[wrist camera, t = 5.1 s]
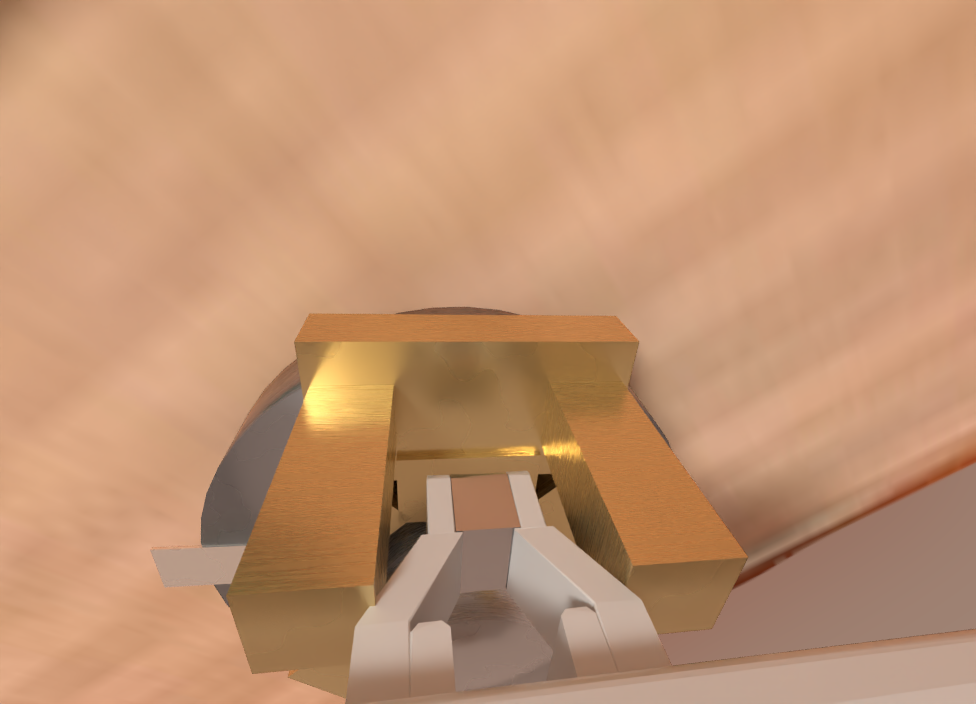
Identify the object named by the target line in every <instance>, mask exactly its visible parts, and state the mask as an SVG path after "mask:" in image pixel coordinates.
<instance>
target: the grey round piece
mask: <svg viewBox="0 0 976 704" xmlns="http://www.w3.org/2000/svg"><path fill="white" fill-rule="evenodd" d="M396 314H423V315H518V314H514V313H509V312H505V311H501V310H492V309H482V308H471V307H447V308H428V309H422V310H415V311H408V312H401V313H396ZM627 389H628V390H629V392H630V393H631V394H632V396H633V397H634V399H635V400H636V401H637V403H638V404H639V406H640V407H641V408H642V410H643V411H644V413H645V414H646V415H647V417H648V418H649V420H650V421H651V422H652V424H653V425H654V427H655V428H656V429H657V431H658V432H659V434H660V435H661V436H662V438H663V439H664V440H665V442H666V443H667V445H668V446H669V447H670V445H669V443H668V440H667V438H666V437H665V435H664V434H663V432H662V431H661V430H660V428H659V427H658V425H657V424H656V422H655V421H654V419H653V418H652V417H651V415H650V414H649V413H648V411H647V410H646V408H645V407H644V406H643V404H642V403H641V402H640V400H639V399H638V398H637V396H636V395H635V393H634V392H633V391H632V389H631V388H630V387H629V385H628V388H627ZM303 402H304V401H303V394H302V388H301V382H300V375H299V369H298V362H297V359H296V360H295V361H294V362H293V363H291V364H290V365H289V366H287V367H286V368H285V369H284V370H283V371H282V372H281V373H280V374H279V375H278V376H277V377H276V378H275V379H274V380H273V381H272V382H271V383H270V384H269V385H268V387H267V388H266V389H265V390H264V391H263V393H262V394H261V396H260V397H259V399H258V400H257V401H256V403H255V404H254V406H253V407H252V409H251V410H250V412H249V414H248V415H247V417H246V419H245V421H244V422H243V424H242V426H241V428H240V430H239V431H238V433H237V435H236V437H235V439H234V440H233V442H232V444H231V446H230V447H229V449H228V451H227V453H226V455H225V456H224V458H223V460H222V462H221V464H220V465H219V467H218V469H217V471H216V474H215V476H214V478H213V480H212V483H211V485H210V487H209V489H208V492H207V494H206V499H205V503H204V508H203V512H202V517H201V545H197V546H174V547H152V548H151V550H150V551H151V553H152V556H153V558H154V561H155V564H156V566H157V569H158V571H159V574H160V576H161V579H162V582H163V584H164V587H179V586H197V585H214V586H215V587H216V589H217V590H218V592H219V593H220V595H221V596H222V598H223V599H224V601H225V603H226V604H227V605H228V606H229V603H228V600H227V597H226V595H227V593H228V590H229V588H230V585H231V583H232V580H233V578H234V575H235V573H236V570H237V568H238V565H239V563H240V560H241V557H242V555H243V552H244V550H245V547H246V545H247V542H248V540H249V537H250V535H251V532H252V530H253V527H254V525H255V522H256V520H257V517H258V515H259V512H260V510H261V507H262V505H263V502H264V500H265V497H266V495H267V492H268V490H269V487H270V485H271V482H272V480H273V477H274V474H275V472H276V469H277V467H278V464H279V462H280V459H281V457H282V454H283V452H284V449H285V447H286V444H287V442H288V439H289V437H290V434H291V432H292V429H293V427H294V424H295V422H296V419H297V417H298V414H299V412H300V409H301V407H302V404H303ZM670 449H671V447H670ZM671 450H672V449H671ZM425 534H426V522H410V523H405V524H404V525H403V526H401V527H400V528H399V529H397V530H396V531H395V532H393V533H392V534H391V535H390V537H389V550H388V563H387V577H386V583H387V582H388V580H389V579H390V577H391V576H392V575H393V573H394V572H395V570H396V569H397V568H398V566H399V565H400V563H401V562H402V561H403V559H404V558H405V557H406V555H407V554H408V552H409V551H410V550H411V548H412V547H413V545H414V544H415V543H416V541H417V540H418V539H419V537H420V536H421V535H425ZM229 607H230V606H229ZM447 625H449V626H450V627H451V638H452V650H453V663H454V676H455V689H456V692H460V691H468V690H477V689H485V688H493V687H501V686H509V685H518V684H526V683H534V682H542V681H546V680H547V675H548V671H549V666H550V662H551V658H552V653H553V650H552V649H551V647H550V646H549V645H548V644H547V642H546V641H545V640H544V638H543V637H542V636H541V635H540V633H539V632H538V631H537V630H536V628H535V627H534V626H533V625H532V623H531V622H530V621H529V619H528V618H527V617H526V616H525V614H524V613H523V612H522V611H521V609H520V608H519V607H518V606H517V604H516V603H515V602H514V600H513V599H512V598H511V597H510V595H509V594H508V593H507V592H506V589H501V590H484V591H475V592H466V593H460V597H459V599H458V601H457V603H456V605H455V607H454V609H453V611H452V613H451V615H450V618H449V620H448V622H447Z"/></svg>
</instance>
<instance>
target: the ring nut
mask: <svg viewBox="0 0 976 704" xmlns="http://www.w3.org/2000/svg"><path fill="white" fill-rule="evenodd" d="M294 343H295V349H296V356H297V362H298V369H299V375H300V382H301V388H302V394H303V401H304V402H303V404H302V407H301V409H300V412H299V414H298V417H297V419H296V422H295V424H294V427H293V429H292V432H291V434H290V437H289V439H288V442H287V444H286V447H285V449H284V452H283V454H282V457H281V459H280V462H279V464H278V467H277V469H276V472H275V474H274V477H273V480H272V482H271V485H270V487H269V490H268V492H267V495H266V497H265V500H264V502H263V505H262V507H261V510H260V512H259V515H258V517H257V520H256V522H255V525H254V527H253V530H252V532H251V535H250V537H249V540H248V542H247V545H246V547H245V550H244V552H243V555H242V557H241V560H240V563H239V565H238V568H237V570H236V573H235V575H234V578H233V580H232V583H231V585H230V588H229V590H228V593H227V595H226V597H227V600H228V603H229V606H230V609H231V612H232V615H233V618H234V621H235V624H236V627H237V630H238V633H239V636H240V639H241V642H242V645H243V648H244V651H245V654H246V657H247V660H248V663H249V666H250V669H251V672H252V674H257V673H267V672H277V671H288V670H289V674H288V678H291V679H293V680H296V681H299V682H302V683H304V684H307V685H310V686H313V687H316V688H318V689H321V690H324V691H327V692H329V693H332V694H335V695H338V696H340V697H343V698H346V694H347V686H348V679H349V671H350V663H351V655H352V647H353V639H354V631H355V626H356V624H357V623H358V622H359V620H360V619H361V618H362V616H363V615H364V613H365V612H366V611H367V609H368V608H369V607H370V606H375V604H376V597H377V595H378V594H379V593H380V591H381V590H382V588H383V587H384V586H385V584H386V577H387V563H388V550H389V537H390V535H391V534H392V533H393V532H395V531H396V530H397V529H399V528H400V527H401V526H403V525H404V524H405V523H410V522H426V485H427V475H449V476H450V474H485V473H503V472H505V473H506V472H515V471H528V472H529V473H530V475H531V479H532V482H533V485H534V488H535V491H536V494H537V497H538V500H539V503H540V506H541V509H542V513H543V516H544V519H545V522H546V525H547V526H554V527H555V528H556V529H558V530H559V531H560V532H561V533H562V534H564V535H565V536H566V537H567V538H568V539H570V540H571V541H572V542H573V543H574V544H576V545H577V546H578V547H579V548H580V549H582V550H583V551H584V552H585V553H586V554H587V555H589V556H590V557H591V558H592V559H593V560H595V561H596V562H597V563H598V564H599V565H601V566H602V567H603V568H604V569H605V570H607V571H608V572H609V573H610V574H611V575H613V576H614V577H615V578H616V579H617V580H618V581H620V582H621V583H622V584H623V585H624V586H626V587H627V588H628V589H629V590H630V591H632V592H633V593H634V594H635V595H636V596H638V597H639V598H640V599H641V600H642V602H643V604H644V606H645V608H646V610H647V613H648V615H649V617H650V619H651V621H652V623H653V625H654V628H655V630H656V632H657V634H666V633H676V632H685V631H697V630H706V629H712V628H713V626H714V624H715V622H716V620H717V618H718V616H719V614H720V612H721V610H722V608H723V606H724V604H725V602H726V600H727V598H728V596H729V594H730V592H731V590H732V588H733V586H734V584H735V582H736V580H737V578H738V577H739V575H740V573H741V571H742V569H743V567H744V565H745V563H746V561H747V559H748V556H747V555H746V553H745V552H744V551H743V549H742V548H741V546H740V545H739V544H738V542H737V541H736V539H735V538H734V537H733V535H732V534H731V533H730V531H729V530H728V528H727V527H726V526H725V524H724V523H723V521H722V520H721V519H720V517H719V516H718V514H717V513H716V512H715V510H714V509H713V507H712V506H711V505H710V503H709V502H708V500H707V499H706V498H705V496H704V495H703V493H702V492H701V491H700V489H699V488H698V486H697V485H696V484H695V482H694V481H693V480H692V478H691V477H690V475H689V474H688V473H687V471H686V470H685V468H684V467H683V466H682V464H681V463H680V461H679V460H678V459H677V457H676V456H675V454H674V453H673V452H672V450H671V449H670V447H669V446H668V445H667V443H666V442H665V440H664V439H663V438H662V436H661V435H660V434H659V432H658V431H657V429H656V428H655V427H654V425H653V424H652V422H651V421H650V420H649V418H648V417H647V415H646V414H645V413H644V411H643V410H642V408H641V407H640V406H639V404H638V403H637V401H636V400H635V399H634V397H633V396H632V394H631V393H630V392H629V390H628V389H627V388H628V384H629V380H630V376H631V372H632V368H633V364H634V361H635V357H636V353H637V349H638V345H639V341H638V340H637V339H636V338H635V336H634V335H633V334H632V333H631V332H630V331H629V330H628V329H627V328H626V327H625V325H624V324H623V323H622V322H621V321H620V320H619V319H618V318H617V317H616V316H546V315H423V314H309V315H308V317H307V319H306V321H305V323H304V325H303V327H302V328H301V330H300V332H299V334H298V336H297V338H296V340H295V341H294Z"/></svg>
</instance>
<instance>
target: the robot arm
mask: <svg viewBox="0 0 976 704" xmlns="http://www.w3.org/2000/svg"><path fill="white" fill-rule="evenodd" d="M501 589H506V592H507V593H508V594H509V595H510V597H511V598H512V599H513V600H514V602H515V603H516V604H517V606H518V607H519V608H520V609H521V611H522V612H523V613H524V614H525V616H526V617H527V618H528V619H529V621H530V622H531V623H532V625H533V626H534V627H535V628H536V630H537V631H538V632H539V633H540V635H541V636H542V637H543V638H544V640H545V641H546V642H547V644H548V645H549V646H550V647H551V649H552V650H553V653H552V658H551V662H550V666H549V671H548V675H547V680H546V681H542V682H534V683H526V684H518V685H509V686H501V687H493V688H485V689H477V690H468V691H460V692H456V689H455V676H454V663H453V650H452V638H451V627H450V626H449V625H447V622H448V620H449V618H450V615H451V613H452V611H453V609H454V607H455V605H456V603H457V601H458V599H459V597H460V593H466V592H475V591H484V590H501ZM345 704H976V629H970V630H962V631H954V632H945V633H938V634H929V635H921V636H913V637H905V638H896V639H888V640H879V641H872V642H863V643H855V644H847V645H839V646H830V647H822V648H813V649H805V650H798V651H789V652H782V653H773V654H764V655H757V656H748V657H739V658H731V659H723V660H715V661H706V662H699V663H691V664H682V665H674V666H672V664H671V662H670V660H669V658H668V656H667V654H666V651H665V649H664V647H663V645H662V643H661V641H660V638H659V636H658V634H657V632H656V630H655V628H654V625H653V623H652V621H651V619H650V617H649V615H648V613H647V610H646V608H645V606H644V604H643V602H642V600H641V599H640V598H639V597H638V596H636V595H635V594H634V593H633V592H632V591H630V590H629V589H628V588H627V587H626V586H624V585H623V584H622V583H621V582H620V581H618V580H617V579H616V578H615V577H614V576H613V575H611V574H610V573H609V572H608V571H607V570H605V569H604V568H603V567H602V566H601V565H599V564H598V563H597V562H596V561H595V560H593V559H592V558H591V557H590V556H589V555H587V554H586V553H585V552H584V551H583V550H582V549H580V548H579V547H578V546H577V545H576V544H574V543H573V542H572V541H571V540H570V539H568V538H567V537H566V536H565V535H564V534H562V533H561V532H560V531H559V530H558V529H556V528H555V527H554V526H547V525H546V522H545V519H544V516H543V513H542V509H541V506H540V503H539V500H538V497H537V494H536V491H535V488H534V485H533V482H532V479H531V475H530V473H529V472H528V471H515V472H506V473H505V472H503V473H485V474H450V476H449V475H427V485H426V534H425V535H421V536H420V537H419V539H418V540H417V541H416V543H415V544H414V545H413V547H412V548H411V550H410V551H409V552H408V554H407V555H406V557H405V558H404V559H403V561H402V562H401V563H400V565H399V566H398V568H397V569H396V570H395V572H394V573H393V575H392V576H391V577H390V579H389V580H388V582H387V583H386V584H385V586H384V587H383V588H382V590H381V591H380V593H379V594H378V595H377V597H376V604H375V606H370V607H369V608H368V609H367V611H366V612H365V613H364V615H363V616H362V618H361V619H360V620H359V622H358V623H357V624H356V626H355V631H354V639H353V647H352V655H351V663H350V671H349V679H348V686H347V694H346V702H345Z"/></svg>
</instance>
